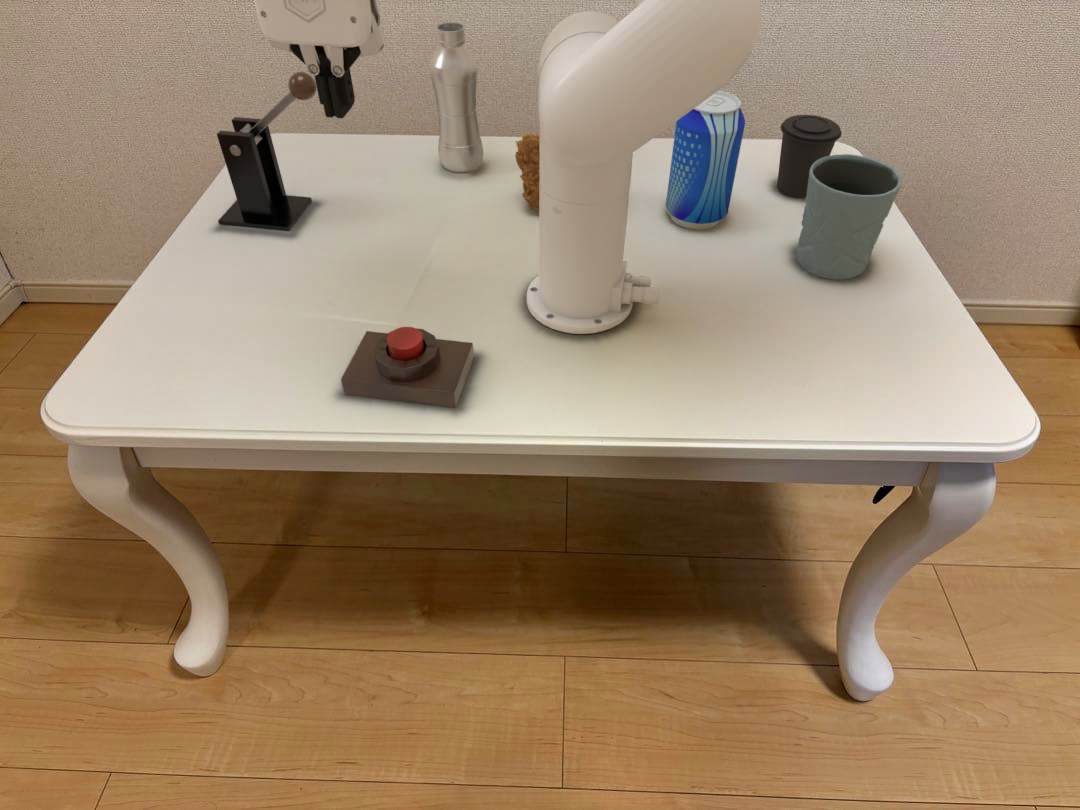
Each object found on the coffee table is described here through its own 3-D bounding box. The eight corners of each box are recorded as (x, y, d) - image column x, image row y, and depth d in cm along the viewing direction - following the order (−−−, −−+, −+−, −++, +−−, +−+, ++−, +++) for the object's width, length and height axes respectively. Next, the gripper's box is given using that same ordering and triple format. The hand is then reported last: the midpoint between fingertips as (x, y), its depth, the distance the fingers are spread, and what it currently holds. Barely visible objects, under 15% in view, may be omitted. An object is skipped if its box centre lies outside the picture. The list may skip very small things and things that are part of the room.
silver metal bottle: (478, 180, 112) (468, 37, 98) (434, 176, 113) (418, 33, 99) (489, 160, 116) (481, 20, 102) (446, 156, 117) (433, 17, 103)
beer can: (736, 228, 103) (760, 111, 91) (678, 236, 101) (695, 118, 90) (711, 197, 108) (731, 83, 97) (655, 204, 107) (669, 90, 96)
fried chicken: (618, 223, 103) (625, 129, 94) (514, 223, 103) (511, 130, 94) (613, 186, 111) (620, 96, 101) (516, 187, 111) (513, 96, 101)
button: (428, 341, 80) (426, 328, 79) (418, 363, 78) (416, 350, 77) (395, 337, 81) (393, 324, 79) (384, 359, 78) (382, 346, 77)
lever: (325, 84, 92) (305, 61, 90) (315, 95, 90) (294, 72, 88) (255, 150, 100) (235, 130, 98) (244, 161, 98) (223, 141, 96)
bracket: (313, 204, 107) (292, 115, 98) (290, 235, 102) (265, 143, 93) (246, 198, 108) (219, 110, 99) (220, 228, 103) (189, 137, 94)
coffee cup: (755, 182, 111) (769, 115, 104) (800, 170, 114) (817, 104, 107) (790, 208, 106) (808, 139, 99) (836, 195, 109) (857, 127, 102)
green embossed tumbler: (886, 277, 94) (919, 189, 86) (812, 289, 93) (839, 200, 84) (843, 234, 101) (870, 148, 93) (773, 244, 100) (795, 158, 91)
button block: (474, 358, 84) (471, 329, 81) (455, 408, 78) (452, 380, 75) (369, 346, 85) (363, 317, 82) (344, 394, 80) (337, 366, 77)
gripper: (189, -103, 60) (251, 123, 73) (370, -95, 58) (401, 135, 71) (232, -122, 66) (283, 91, 79) (399, -116, 64) (423, 101, 77)
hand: (339, 111), depth 75 cm, fingers closed
